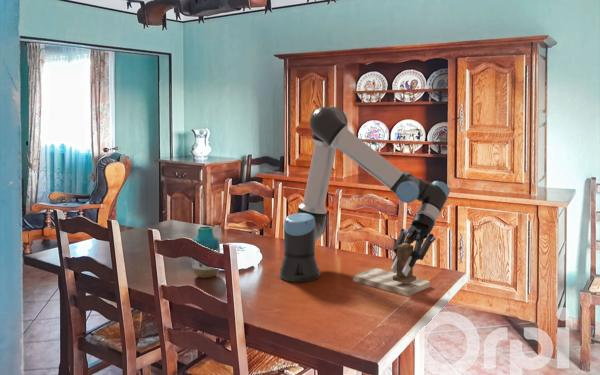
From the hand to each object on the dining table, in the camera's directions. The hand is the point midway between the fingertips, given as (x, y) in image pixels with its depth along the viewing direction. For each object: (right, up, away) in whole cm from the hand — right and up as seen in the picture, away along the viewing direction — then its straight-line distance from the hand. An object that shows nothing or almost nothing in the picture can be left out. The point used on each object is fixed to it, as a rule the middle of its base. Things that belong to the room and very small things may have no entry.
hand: (398, 272), depth 188 cm
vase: (-70, -5, +18) cm, 72 cm away
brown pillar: (+3, -3, +3) cm, 5 cm away
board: (-1, -6, +10) cm, 12 cm away
